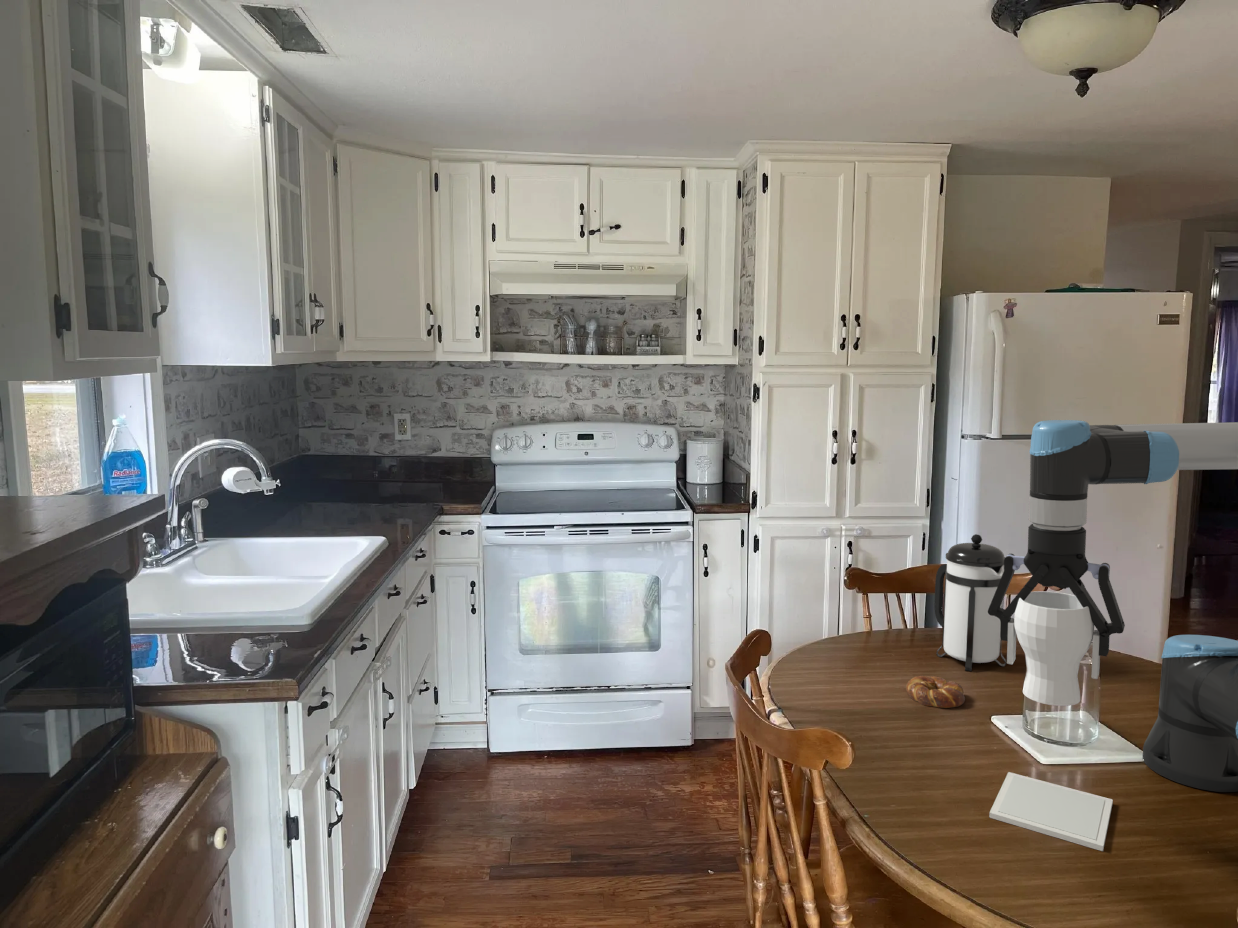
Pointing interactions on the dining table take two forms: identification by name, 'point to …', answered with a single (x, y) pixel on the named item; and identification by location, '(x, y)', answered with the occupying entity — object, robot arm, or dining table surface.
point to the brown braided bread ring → (935, 692)
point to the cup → (1053, 645)
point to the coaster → (1053, 810)
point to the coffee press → (970, 602)
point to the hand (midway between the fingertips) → (1052, 668)
